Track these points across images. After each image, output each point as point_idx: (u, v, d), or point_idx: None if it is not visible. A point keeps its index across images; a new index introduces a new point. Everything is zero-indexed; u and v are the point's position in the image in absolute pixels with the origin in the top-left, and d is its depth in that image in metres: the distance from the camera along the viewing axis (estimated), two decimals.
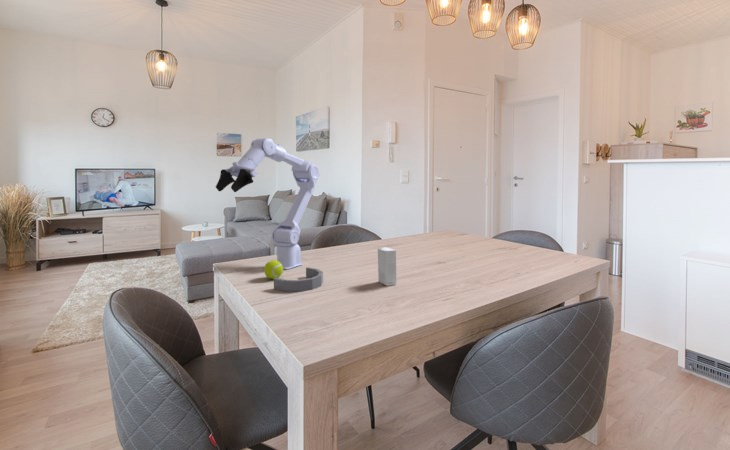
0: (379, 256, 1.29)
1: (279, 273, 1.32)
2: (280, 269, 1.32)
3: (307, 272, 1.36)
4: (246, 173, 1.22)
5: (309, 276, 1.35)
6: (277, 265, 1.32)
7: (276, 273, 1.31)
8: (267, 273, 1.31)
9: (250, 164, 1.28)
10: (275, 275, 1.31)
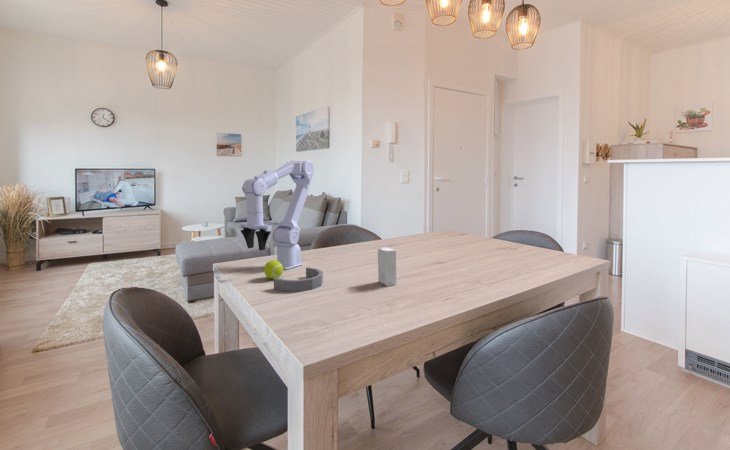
0: (379, 256, 1.29)
1: (279, 273, 1.32)
2: (280, 269, 1.32)
3: (307, 272, 1.36)
4: (262, 233, 1.32)
5: (309, 276, 1.35)
6: (277, 265, 1.32)
7: (276, 273, 1.31)
8: (267, 273, 1.31)
9: (259, 217, 1.33)
10: (275, 275, 1.31)
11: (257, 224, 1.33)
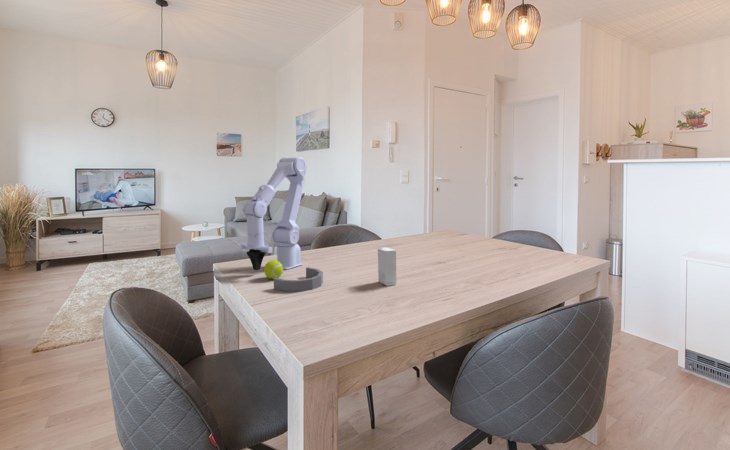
0: (379, 256, 1.29)
1: (279, 273, 1.32)
2: (280, 269, 1.32)
3: (307, 272, 1.36)
4: (258, 254, 1.35)
5: (309, 276, 1.35)
6: (277, 265, 1.32)
7: (276, 273, 1.31)
8: (267, 273, 1.31)
9: (259, 238, 1.35)
10: (275, 275, 1.31)
11: (258, 246, 1.35)
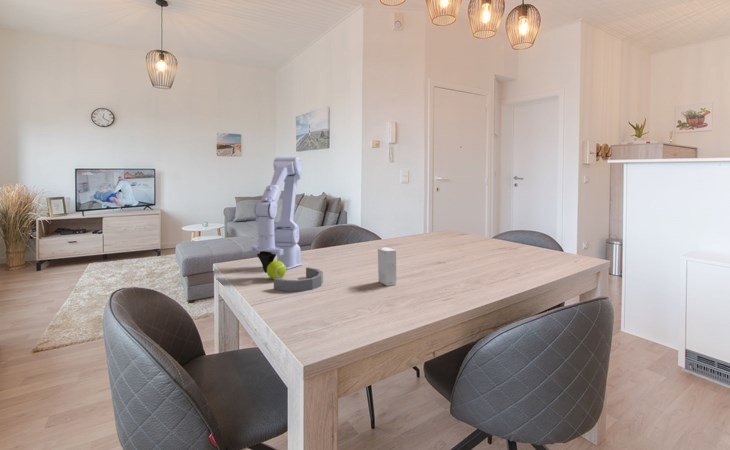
0: (379, 256, 1.29)
1: (282, 274, 1.31)
2: (283, 269, 1.31)
3: (307, 272, 1.36)
4: (268, 256, 1.32)
5: (309, 276, 1.35)
6: (280, 265, 1.31)
7: (279, 273, 1.30)
8: (270, 273, 1.30)
9: (270, 240, 1.32)
10: (278, 276, 1.31)
11: (269, 248, 1.32)
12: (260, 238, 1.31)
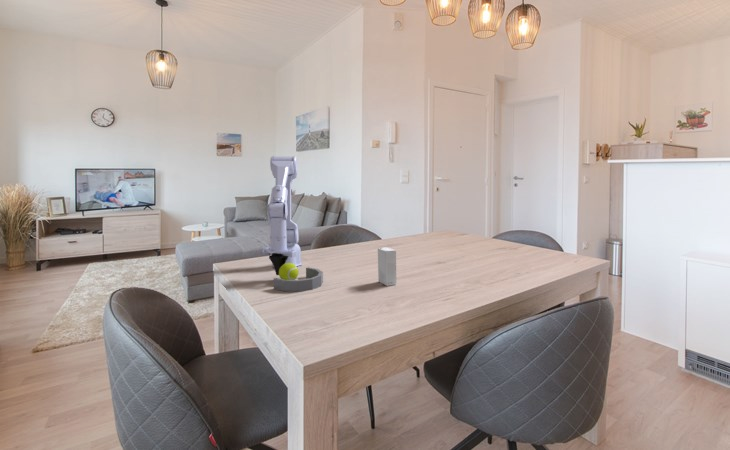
0: (379, 256, 1.29)
1: (294, 276, 1.28)
2: (295, 272, 1.28)
3: (307, 272, 1.36)
4: (280, 258, 1.29)
5: (309, 276, 1.35)
6: (292, 268, 1.28)
7: (291, 276, 1.27)
8: (282, 276, 1.27)
9: (282, 242, 1.29)
10: (290, 278, 1.28)
11: (281, 249, 1.29)
12: (272, 240, 1.28)
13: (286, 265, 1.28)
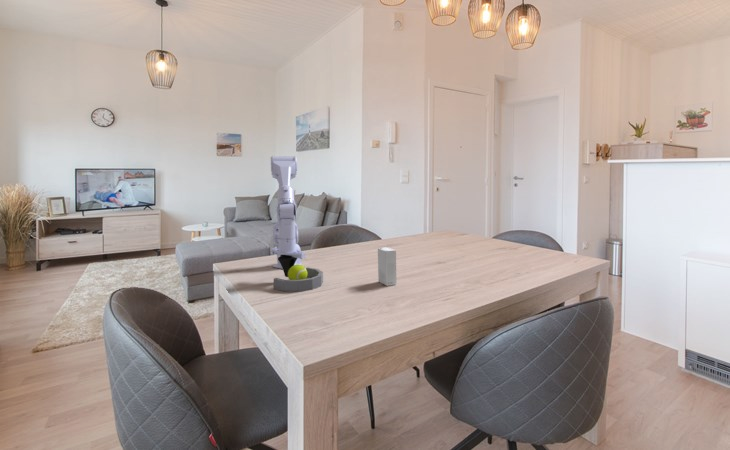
0: (379, 256, 1.29)
1: (304, 278, 1.26)
2: (305, 274, 1.26)
3: (307, 272, 1.36)
4: (289, 260, 1.27)
5: (309, 276, 1.35)
6: (301, 269, 1.26)
7: (300, 278, 1.25)
8: (291, 278, 1.25)
9: (292, 243, 1.27)
10: None
11: (290, 251, 1.27)
12: (281, 241, 1.26)
13: (295, 267, 1.26)
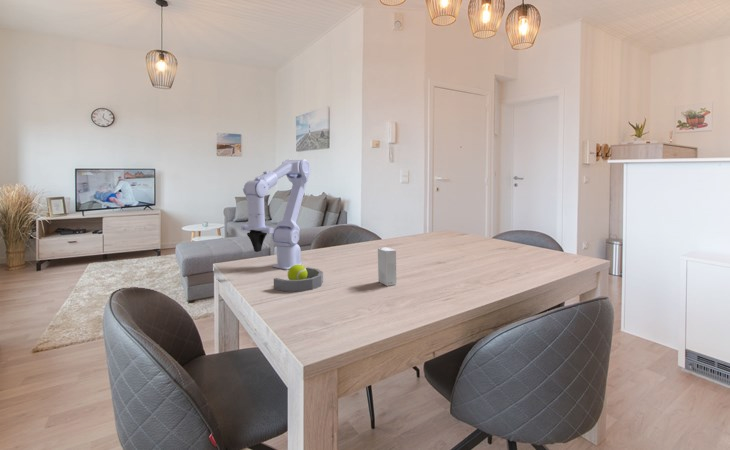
0: (379, 256, 1.29)
1: (303, 278, 1.26)
2: (305, 274, 1.26)
3: (307, 272, 1.36)
4: (258, 235, 1.32)
5: (309, 276, 1.35)
6: (301, 269, 1.26)
7: (300, 278, 1.25)
8: (291, 278, 1.25)
9: (260, 219, 1.32)
10: None
11: (259, 226, 1.32)
12: (250, 217, 1.31)
13: (295, 267, 1.26)
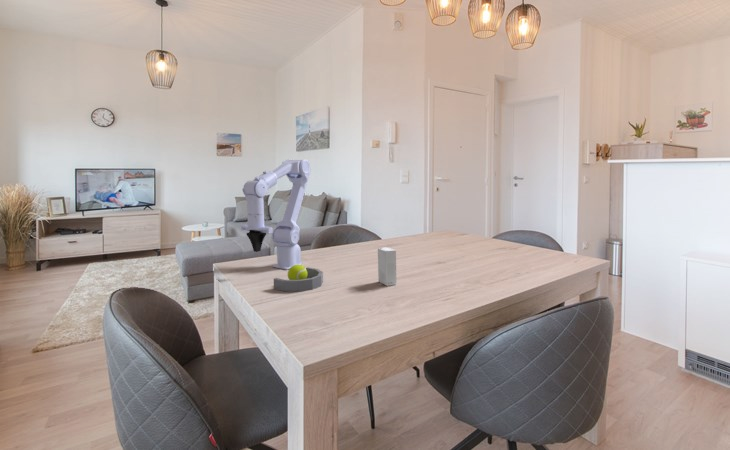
0: (379, 256, 1.29)
1: (303, 278, 1.26)
2: (305, 274, 1.26)
3: (307, 272, 1.36)
4: (258, 235, 1.32)
5: (309, 276, 1.35)
6: (301, 269, 1.26)
7: (300, 278, 1.25)
8: (291, 278, 1.25)
9: (260, 219, 1.32)
10: None
11: (258, 226, 1.32)
12: (249, 217, 1.31)
13: (295, 267, 1.26)
